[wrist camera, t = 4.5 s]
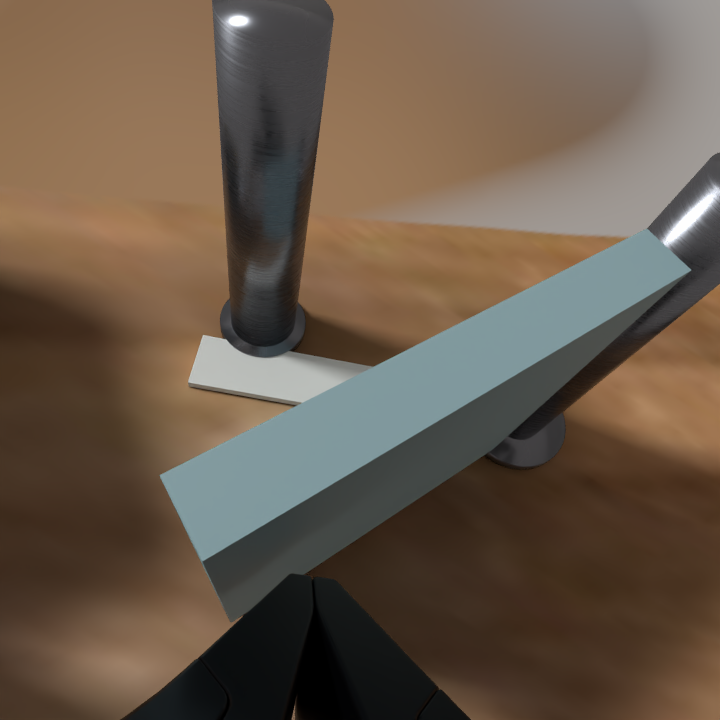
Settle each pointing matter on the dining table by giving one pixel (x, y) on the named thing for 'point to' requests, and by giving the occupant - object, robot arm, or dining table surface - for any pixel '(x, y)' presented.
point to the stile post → (268, 160)
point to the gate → (402, 424)
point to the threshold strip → (267, 373)
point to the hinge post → (708, 269)
